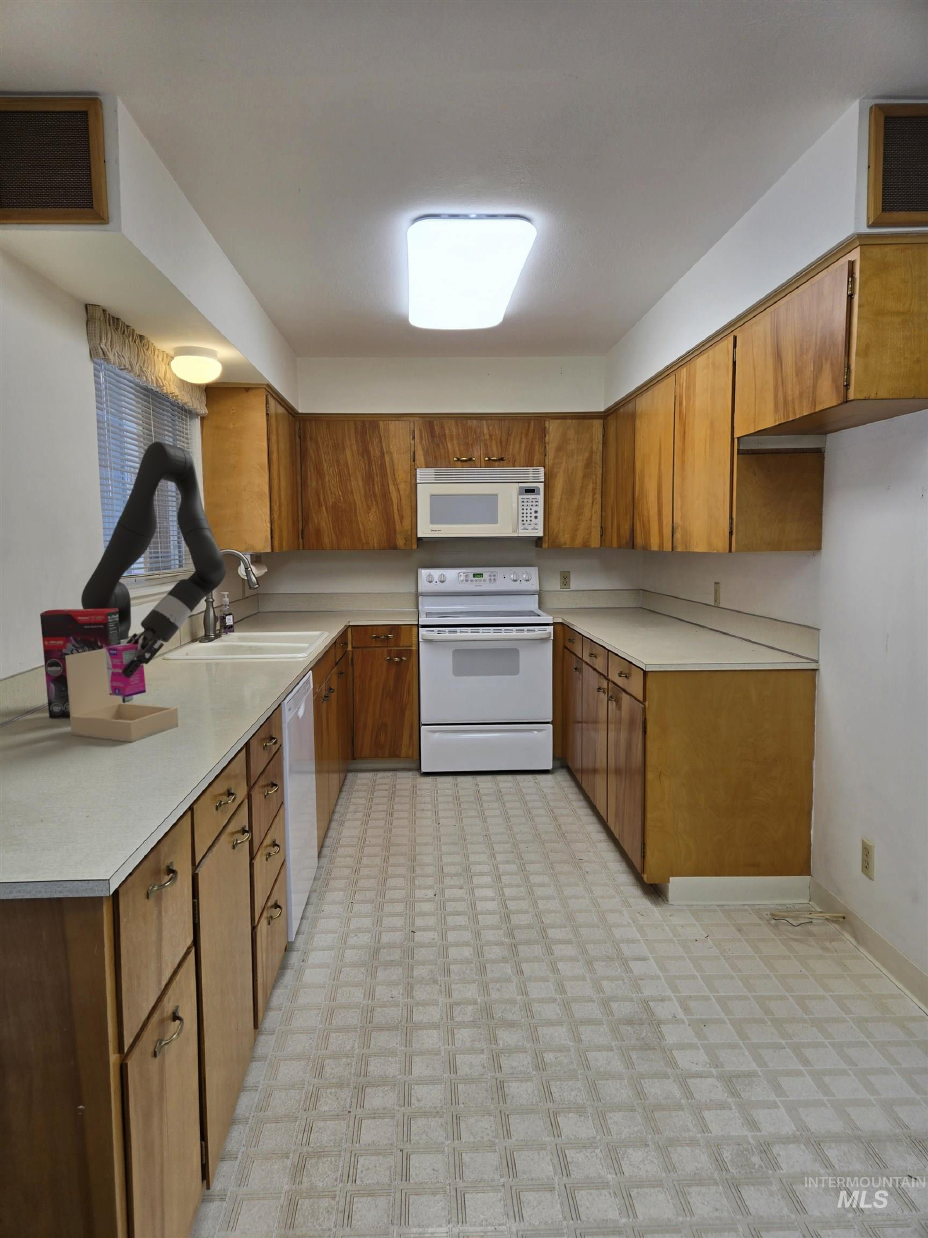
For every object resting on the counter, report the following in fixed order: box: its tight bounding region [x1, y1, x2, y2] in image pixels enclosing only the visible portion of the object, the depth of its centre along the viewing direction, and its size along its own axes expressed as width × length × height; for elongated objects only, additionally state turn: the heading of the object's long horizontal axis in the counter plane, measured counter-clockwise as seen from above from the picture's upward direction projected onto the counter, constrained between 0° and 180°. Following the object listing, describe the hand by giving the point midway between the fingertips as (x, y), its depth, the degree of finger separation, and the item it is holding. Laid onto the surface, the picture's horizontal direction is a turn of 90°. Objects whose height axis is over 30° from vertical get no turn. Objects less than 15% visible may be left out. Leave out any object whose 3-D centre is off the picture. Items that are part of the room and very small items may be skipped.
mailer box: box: [65, 649, 179, 743], centre depth 164 cm, size 18×14×18 cm
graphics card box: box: [39, 608, 126, 719], centre depth 178 cm, size 17×7×27 cm, turn 91°
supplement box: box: [105, 643, 147, 697], centre depth 163 cm, size 6×6×12 cm
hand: (119, 673), depth 162 cm, fingers closed on supplement box, 7 cm apart
